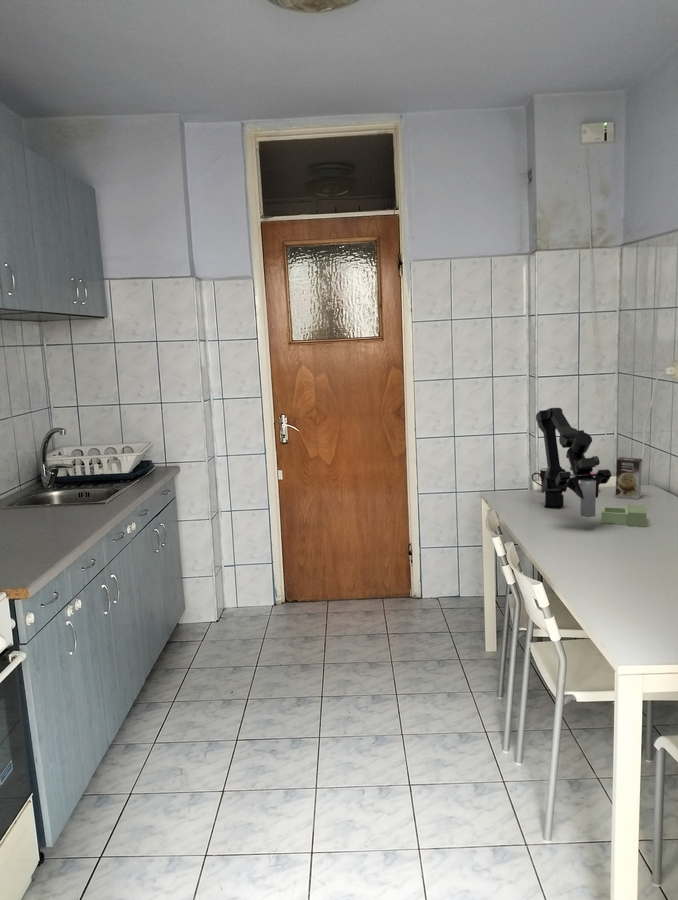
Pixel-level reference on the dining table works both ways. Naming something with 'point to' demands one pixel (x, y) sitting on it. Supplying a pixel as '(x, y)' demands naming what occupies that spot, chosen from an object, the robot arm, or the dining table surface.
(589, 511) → the grey rounded post
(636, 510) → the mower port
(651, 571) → the dining table surface
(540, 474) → the coffee mug
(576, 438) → the robot arm
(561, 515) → the dining table surface
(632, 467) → the brown cookie box
